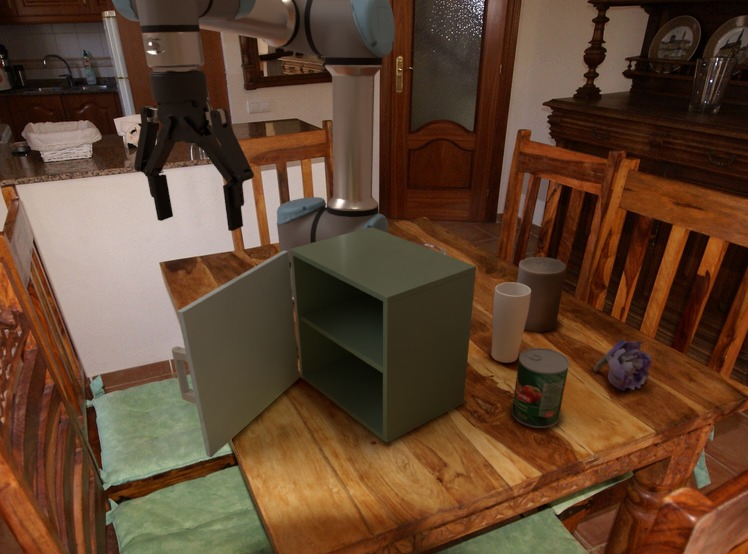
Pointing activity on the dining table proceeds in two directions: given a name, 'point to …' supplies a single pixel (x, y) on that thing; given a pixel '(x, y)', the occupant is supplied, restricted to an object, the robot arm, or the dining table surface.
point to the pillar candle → (542, 291)
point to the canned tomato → (539, 387)
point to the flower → (626, 365)
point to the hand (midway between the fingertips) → (199, 223)
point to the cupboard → (383, 327)
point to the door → (238, 350)
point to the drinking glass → (509, 320)
